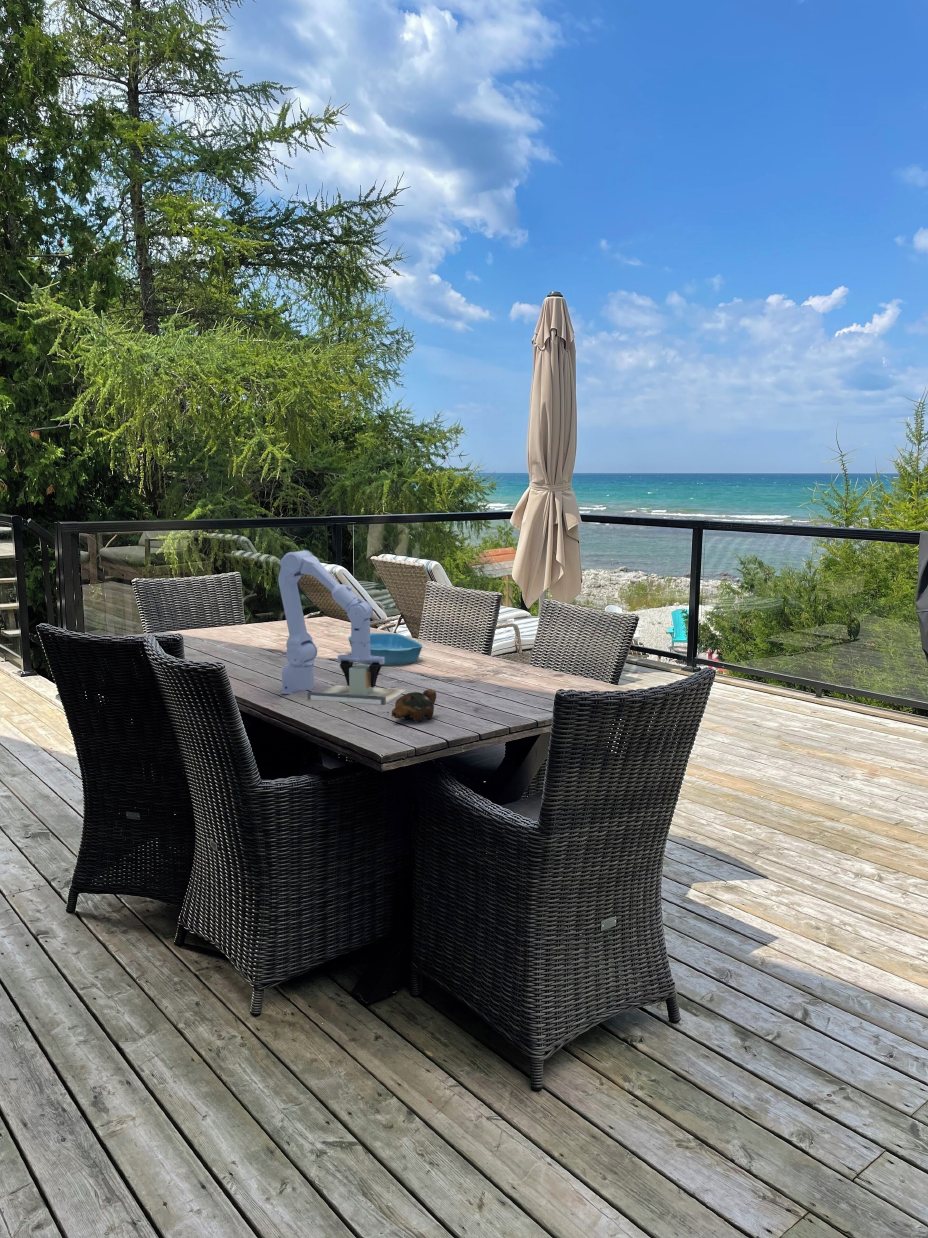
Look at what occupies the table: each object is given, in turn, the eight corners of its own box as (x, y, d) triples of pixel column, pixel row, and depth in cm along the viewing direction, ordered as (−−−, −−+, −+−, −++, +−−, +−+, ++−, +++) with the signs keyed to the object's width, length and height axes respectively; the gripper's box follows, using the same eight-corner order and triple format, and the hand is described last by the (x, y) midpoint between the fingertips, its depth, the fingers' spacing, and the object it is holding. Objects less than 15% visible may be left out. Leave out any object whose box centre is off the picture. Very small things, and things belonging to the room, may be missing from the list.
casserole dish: (430, 665, 328) (430, 645, 327) (372, 670, 319) (371, 650, 318) (395, 648, 361) (395, 631, 360) (341, 652, 352) (341, 634, 351)
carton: (349, 694, 274) (349, 668, 273) (358, 689, 280) (357, 664, 279) (365, 695, 272) (365, 669, 271) (374, 690, 279) (373, 665, 278)
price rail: (307, 704, 268) (307, 692, 267) (309, 703, 269) (309, 691, 268) (384, 709, 261) (384, 697, 261) (385, 708, 263) (385, 696, 262)
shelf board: (310, 703, 269) (310, 698, 269) (334, 690, 286) (334, 685, 286) (386, 708, 263) (386, 703, 263) (406, 694, 280) (406, 689, 280)
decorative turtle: (446, 717, 253) (446, 690, 251) (408, 731, 242) (407, 703, 241) (421, 709, 260) (421, 683, 258) (383, 723, 249) (382, 695, 247)
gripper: (333, 643, 272) (334, 687, 274) (378, 645, 269) (379, 690, 271) (342, 639, 279) (343, 682, 281) (386, 641, 275) (387, 685, 277)
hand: (361, 686), depth 276 cm, fingers open, 7 cm apart
